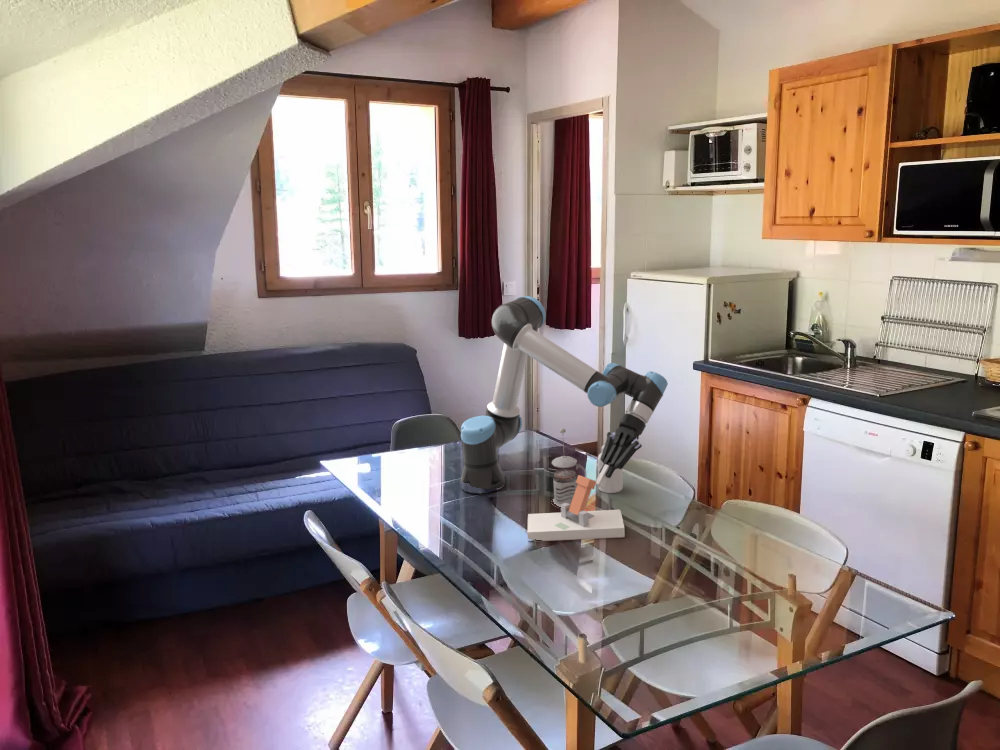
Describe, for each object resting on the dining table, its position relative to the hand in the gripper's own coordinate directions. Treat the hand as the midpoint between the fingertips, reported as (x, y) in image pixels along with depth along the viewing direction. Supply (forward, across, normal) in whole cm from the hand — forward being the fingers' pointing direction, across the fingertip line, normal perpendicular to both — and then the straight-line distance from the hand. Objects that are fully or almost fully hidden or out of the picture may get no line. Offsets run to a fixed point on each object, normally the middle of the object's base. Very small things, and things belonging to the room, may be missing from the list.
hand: (599, 485), depth 241 cm
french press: (+7, +16, -9) cm, 20 cm away
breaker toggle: (+13, 0, +2) cm, 13 cm away
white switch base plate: (+15, 0, -1) cm, 15 cm away
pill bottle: (-5, +13, -20) cm, 25 cm away
